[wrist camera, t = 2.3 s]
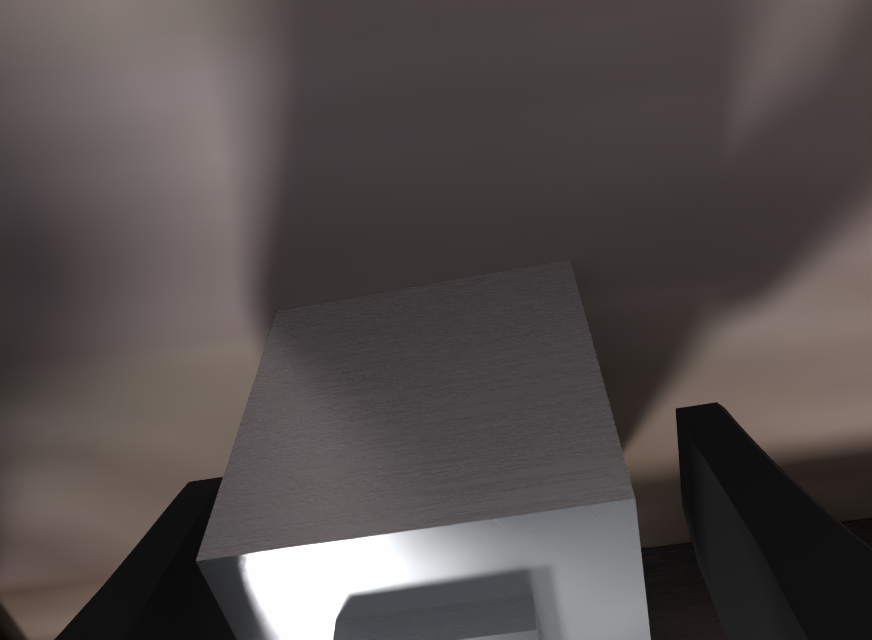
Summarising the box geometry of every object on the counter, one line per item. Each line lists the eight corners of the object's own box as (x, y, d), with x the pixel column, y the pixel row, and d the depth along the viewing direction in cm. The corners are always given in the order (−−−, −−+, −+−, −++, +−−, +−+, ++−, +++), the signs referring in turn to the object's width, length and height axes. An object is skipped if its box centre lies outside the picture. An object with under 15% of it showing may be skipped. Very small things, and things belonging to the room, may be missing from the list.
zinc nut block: (352, 516, 17) (312, 828, 12) (277, 309, 14) (184, 597, 9) (600, 479, 16) (672, 792, 11) (569, 257, 14) (644, 533, 8)
